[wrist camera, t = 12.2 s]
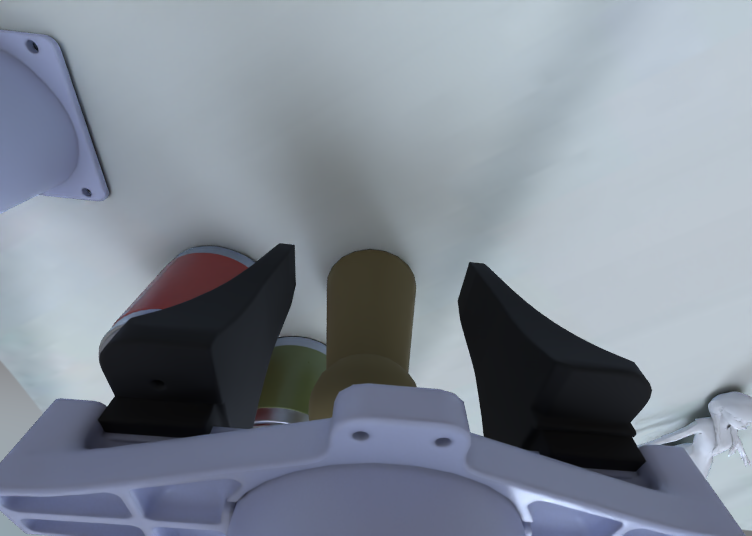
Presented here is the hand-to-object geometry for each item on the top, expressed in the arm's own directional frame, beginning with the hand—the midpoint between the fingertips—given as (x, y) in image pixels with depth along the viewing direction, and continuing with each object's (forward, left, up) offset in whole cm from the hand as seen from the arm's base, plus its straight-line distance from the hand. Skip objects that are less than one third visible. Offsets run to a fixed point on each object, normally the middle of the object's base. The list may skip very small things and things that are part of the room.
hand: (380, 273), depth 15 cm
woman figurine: (+30, -22, -7) cm, 38 cm away
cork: (0, -6, -7) cm, 10 cm away
